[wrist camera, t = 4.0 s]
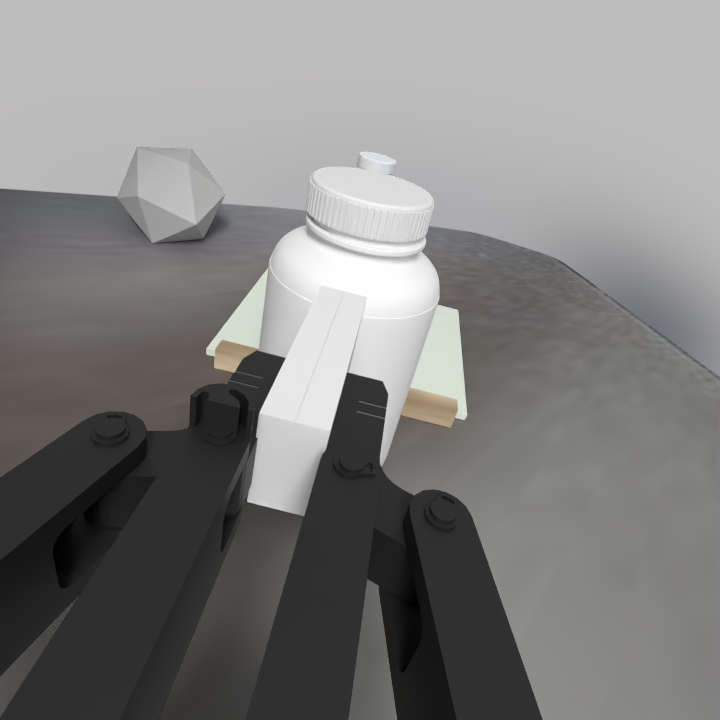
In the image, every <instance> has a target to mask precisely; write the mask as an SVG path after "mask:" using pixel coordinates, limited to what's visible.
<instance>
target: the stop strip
mask: <svg viewBox="0 0 720 720" xmlns="http://www.w3.org/2000/svg"><path fill="white" fill-rule="evenodd" d="M256 350H257V351H259V349H257V348H253V347H249V346H245V345H241V344H237V343H233V342H229V341H226V340H221V342H220V343H219V344H218V346H217V347H216V349H215V361H214V368H217V369H221V370H225V371H229V372H233V373H234V372H235V371H236V369H237V367H238V365H239V364H240V362H241V361H242V359H243V358H245V357H246V356H248V355H250V354H251V353H253V352H255V351H256ZM457 412H458V403H457V399H453V398H450V397H446V396H442V395H438V394H434V393H430V392H426V391H422V390H418V389H414V388H410V389H409V392H408V395H407V398H406V401H405V404H404V407H403V410H402V413H401V415H402V416H406V417H410V418H414V419H418V420H422V421H425V422H429V423H433V424H437V425H441V426H445V427H449V428H451V426H452V424H453V421H454V419H455V417H456V414H457Z"/></svg>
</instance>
